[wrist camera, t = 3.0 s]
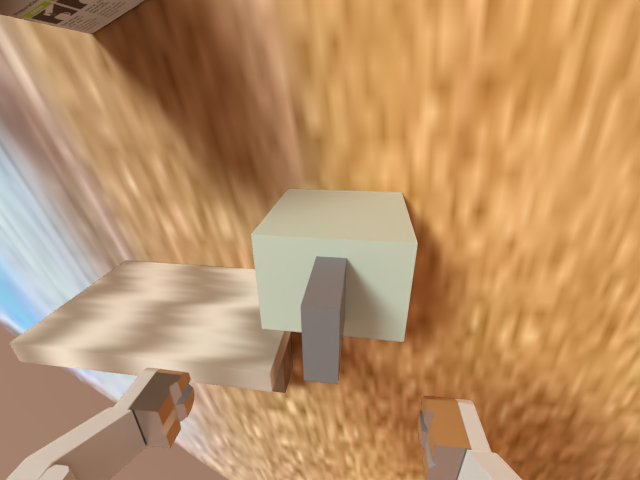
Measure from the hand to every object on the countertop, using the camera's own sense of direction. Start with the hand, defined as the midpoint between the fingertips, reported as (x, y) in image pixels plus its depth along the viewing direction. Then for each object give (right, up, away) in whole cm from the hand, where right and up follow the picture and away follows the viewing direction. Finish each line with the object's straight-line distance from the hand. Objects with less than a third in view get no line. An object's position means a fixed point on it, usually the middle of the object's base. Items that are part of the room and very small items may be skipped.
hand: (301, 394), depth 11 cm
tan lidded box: (-9, -2, +18) cm, 20 cm away
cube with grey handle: (+2, +6, +12) cm, 14 cm away
